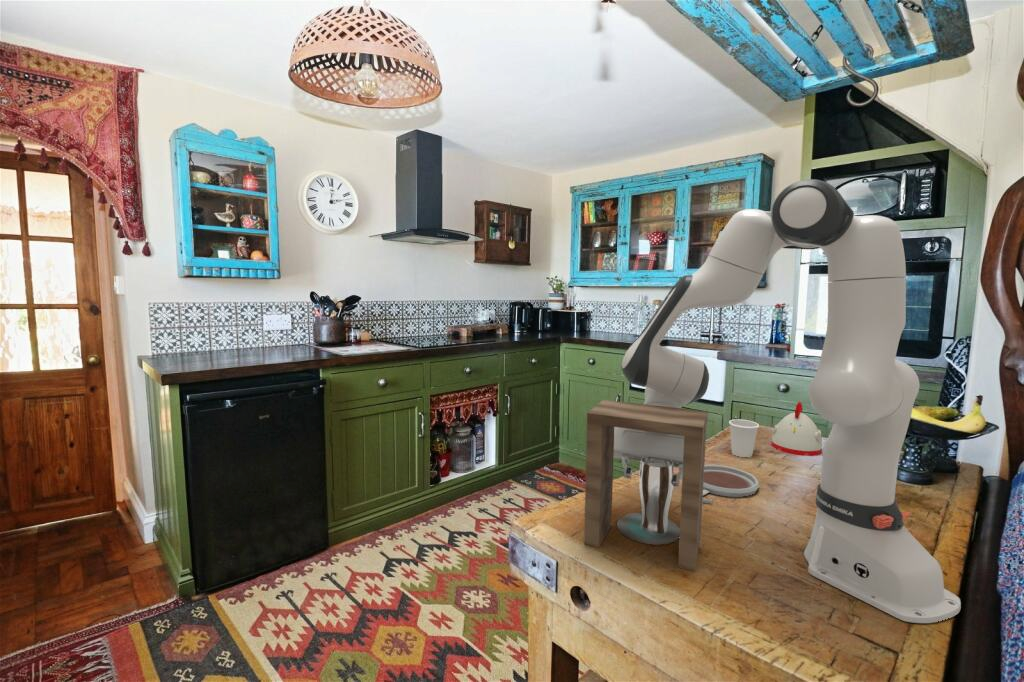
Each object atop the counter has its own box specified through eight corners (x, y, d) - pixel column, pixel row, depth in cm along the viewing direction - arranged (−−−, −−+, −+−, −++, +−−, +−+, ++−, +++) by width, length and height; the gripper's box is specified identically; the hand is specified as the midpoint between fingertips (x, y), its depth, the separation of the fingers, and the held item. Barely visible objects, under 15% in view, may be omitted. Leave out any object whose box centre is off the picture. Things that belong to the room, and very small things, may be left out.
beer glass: (674, 526, 103) (677, 459, 101) (667, 541, 97) (670, 469, 95) (642, 518, 106) (644, 452, 105) (633, 532, 100) (635, 463, 99)
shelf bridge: (607, 506, 113) (611, 393, 110) (703, 525, 104) (710, 404, 101) (584, 543, 96) (587, 413, 93) (695, 571, 87) (702, 427, 84)
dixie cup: (746, 461, 142) (748, 428, 141) (721, 452, 149) (723, 421, 148) (762, 456, 146) (765, 424, 145) (737, 448, 153) (739, 417, 152)
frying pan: (651, 485, 120) (709, 458, 137) (651, 496, 120) (708, 468, 138) (717, 510, 107) (771, 477, 124) (716, 523, 107) (770, 487, 125)
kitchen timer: (766, 449, 153) (770, 403, 151) (776, 438, 163) (779, 395, 162) (818, 459, 144) (822, 410, 142) (824, 447, 155) (828, 402, 153)
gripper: (611, 411, 110) (599, 466, 103) (707, 422, 102) (701, 483, 94) (615, 425, 115) (604, 478, 107) (707, 436, 106) (702, 496, 98)
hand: (650, 481), depth 101 cm, fingers open, 8 cm apart
